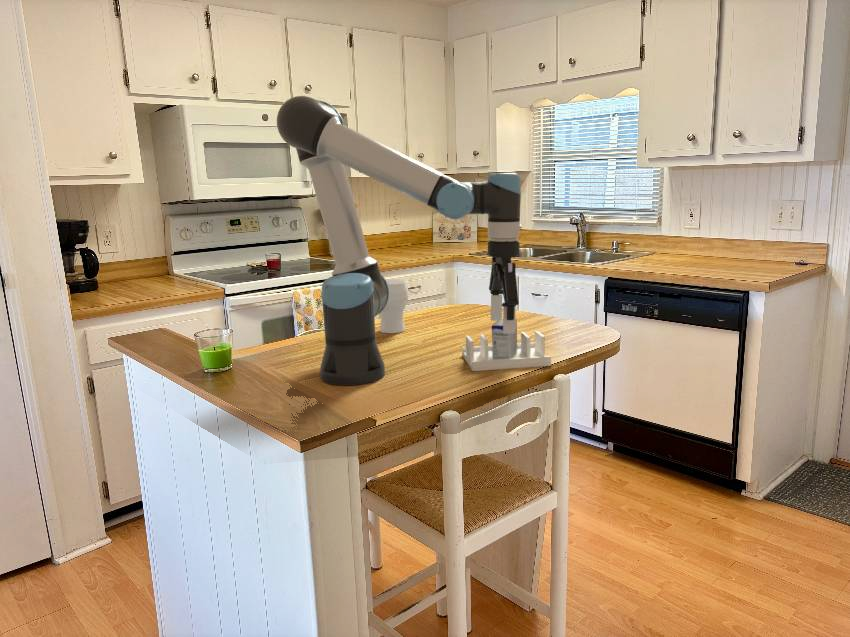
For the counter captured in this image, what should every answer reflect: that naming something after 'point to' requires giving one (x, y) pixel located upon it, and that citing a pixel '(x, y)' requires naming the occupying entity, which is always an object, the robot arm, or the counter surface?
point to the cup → (394, 307)
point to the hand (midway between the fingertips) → (502, 326)
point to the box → (503, 341)
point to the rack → (524, 357)
